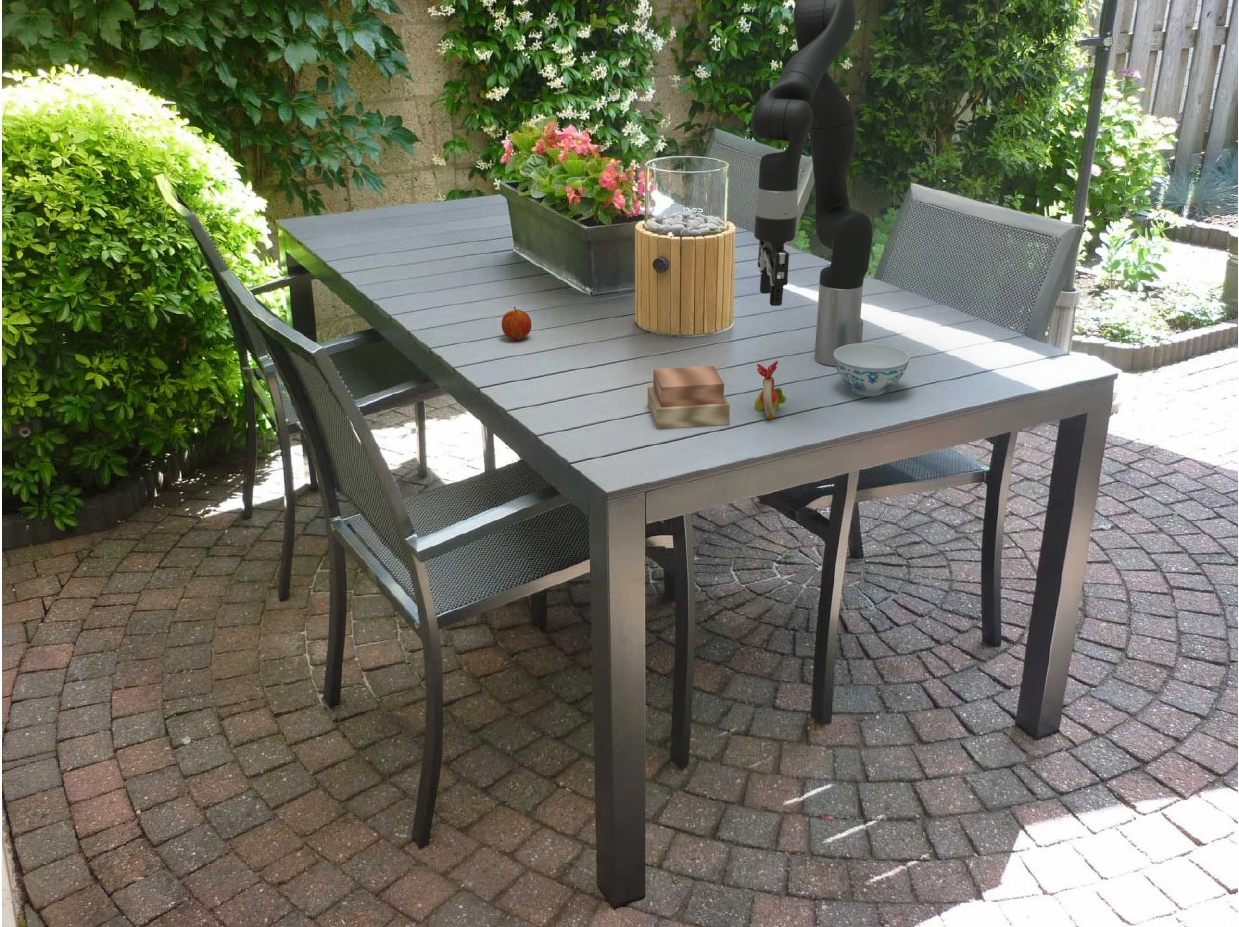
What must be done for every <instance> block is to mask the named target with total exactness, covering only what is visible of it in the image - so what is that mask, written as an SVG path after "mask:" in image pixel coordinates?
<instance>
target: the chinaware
mask: <svg viewBox="0 0 1239 927" xmlns="http://www.w3.org/2000/svg"><path fill="white" fill-rule="evenodd" d="M834 361H835V365H836V366H835V368H836V370H837V373H838V375H839V376H840V378H841V379H842V380H843V382H845V383H846V385H848V386H849V387H851V391H852V392H853V393H854V392H855V393H854V394H857V395H858V396H859V395H860V396H862V395H863V397H877V396H878V395H879V396H882V395H883V394H885V393H884V392H886V390H887V389H889V388H891V387H892V386H894V385H895V384H896V383H898V381H899V380H900V379H901V378H902V377H903V376H904V374H905V372H906V370H907V368H908V365H909V361H910V355H909V354H908V352H907V351H905V350H903V349H901V348H898V347H896V346H892V345H888V344H882V343H873V342H862V343H856V344H849V345H844V346H841V347H839V348H837V349H836V350H835V351H834ZM881 394H882V395H881Z"/></svg>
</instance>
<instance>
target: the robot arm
mask: <svg viewBox="0 0 1239 927" xmlns="http://www.w3.org/2000/svg"><path fill="white" fill-rule="evenodd" d="M793 9H794V10H793V29H794V36H795V42H796V47H797V52H796V53H795V54H794V55H793V56H792V57H791V58H790V59H789V60H788V61H787V63H786V65H785V66H784V68H783V70H782V72H781V74H780V77H779V78H778V81H777V82H776V83H775V84H774V85H773V86H771V88H770V89H769V90H768V91H767V92H765V93H764V94H763V95H762V97H761V98H760V99H759V100H758V101H757V103H756V105H755V106H754V108H753V111H752V114H751V128H752V131H753V132H754V134H755V135H756V136H757V137H758V138H760V139H762V140H768V141H769V140H770V141H783V142H785V141H786V142H788V144H787V147H786V148H785V150H782V151H780V152H779V151H778V152H770V153H767V154H764V155H762V157H761V159H760V161H759V173H758V188H757V194H756V200H755V202H756V203H755V215H754V219H755V220H754V231H753V234H754V238H755V239H757V241H758V243H759V244H758V256H757V268H759V270H758V271H759V274H760V280H759V292H760V293H761V294H765V295H766V294H767V295H768V294H769V305H770V306H771V307H775V306H776V307H780V306H782V305H783V294H784V287H785V286H787V285H788V283H789V280H788V278H789V262H790V261H789V259H790V253H789V252H788V251H787V250H786V249H785V243H787V242H791V241H794V239H795V237H796V230H797V229H796V228H797V218H798V216H797V214H798V200H799V199H798V184H799V170H800V169H799V168H800V163H801V158H802V155H803V151H804V148H805V146H806V142H807V139H808V137H809V145H810V151H811V161H812V170H813V179H814V190H815V192H814V193H815V195H814V196H815V202H814V203H815V205H814V206H815V232H816V234H817V238H818V240H819V242H820V243H821V244H822V245H823V246H824V247H826V248H827V249H830V250H832V253H831V261H830V262H831V263H830V265H829V266H825V267H823V268H822V269H821V270H820V273H819V285H818V299H817V312H816V313H817V314H816V316H817V317H816V328H815V329H816V332H815V344H814V345H815V348H814V360H815V361H816V362H817V363H819V364H823V365H826V366H832V367H833V366H834V367H836V365H835V361H834V351H835V350H836V349H837V348H839V347H841V346H844V345H849V344H856V343H863V331H864V330H863V329H864V320H863V319H862V318H861V316H862V315H861V314H862V303H863V289H864V280H865V276H866V275H867V272H868V270H869V266H870V258H871V251H872V245H873V244H872V242H873V226H872V221H871V219H870V217H869V216H868V215H867V214H865V213H864V212H862V211H859V210H857V209H854V208H852V207H851V205H850V202H849V201H850V200H849V196H848V195H849V192H848V185H847V184H848V183H847V182H848V173H849V169H850V167H851V163H852V161H853V158H854V154H855V151H856V145H857V132H856V122H855V114H854V113H855V112H854V109H853V106H852V104H851V103H850V100H849V99H848V98H847V96H846V95H845V94H844V92H843V91H842V90H841V88H840V87H839V86H838V84H837V83H836V82H835V81H834V79H833V78H832V76H831V75H830V73H829V72H828V69H829V67H830V66H831V65H832V64H833V62H834V61H835V60H836V58H838V56H839V54H840V53H841V52H842V50H843V49H844V48H845V46H847V44H848V42H849V41H850V39H851V38H852V36H853V33H854V29H855V25H856V8H855V4H854V1H853V0H796V3H795V4H794V8H793ZM778 276H779V277H780V278H778Z"/></svg>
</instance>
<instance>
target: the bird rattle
mask: <svg viewBox="0 0 1239 927" xmlns="http://www.w3.org/2000/svg"><path fill="white" fill-rule="evenodd" d="M778 363H779V361H778V360H775V361H774V362H773V363H772V364H770V365H769V366H768V367H767V368H766V367H764V366H763V365H761V363H756V367H757V369H756V371H757V372H758V374H759V375H760V376H761V377H763V381H762V386H763V387H762V388H763V389H762V390H761V392H760V393H758V396H757V398H756V400H755V401H754V403H753V404H754V406H755V410H756V411H759V412H762V411H764V412H765V415H766V418H767V419H768V420H773V419H774V418H775V413H776V412H775V411H778V410H779V408H780V404H784V403H786V401H787V397H786V396H785V395H784V394H783V389H782V388H781V387H778V386H777V387H776V388H775V379H774V377H773V374H774V373H775V371H776V370H777V368H778V366H777V365H778Z"/></svg>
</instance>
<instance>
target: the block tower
mask: <svg viewBox="0 0 1239 927" xmlns="http://www.w3.org/2000/svg"><path fill="white" fill-rule="evenodd" d="M652 373H653V374H652V375H653V377H652V378H653V379H652V380H653V382H652V384H653V385H652V386H647V408H648V410H649V413H650V414H651V418H652V419H653V422H654V425H655V427H656V429H657V430H662V429H663V430H664V429H676V428H677V429H679V428H693V427H708V426H709V427H710V426H726V425H730V414H731V413H730V411H731V407H730V406H731V405H730V403H729V401H728V398H726V396H725V383H724V381H723V380H722V377H721V376H720V374H719V373H718V371H717V370H716V368H715V366H714V365H708V366H707V365H706V366H690V367H689V366H688V367H671V368H670V367H669V368H656V369H655V368H654V369H653V372H652Z"/></svg>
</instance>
